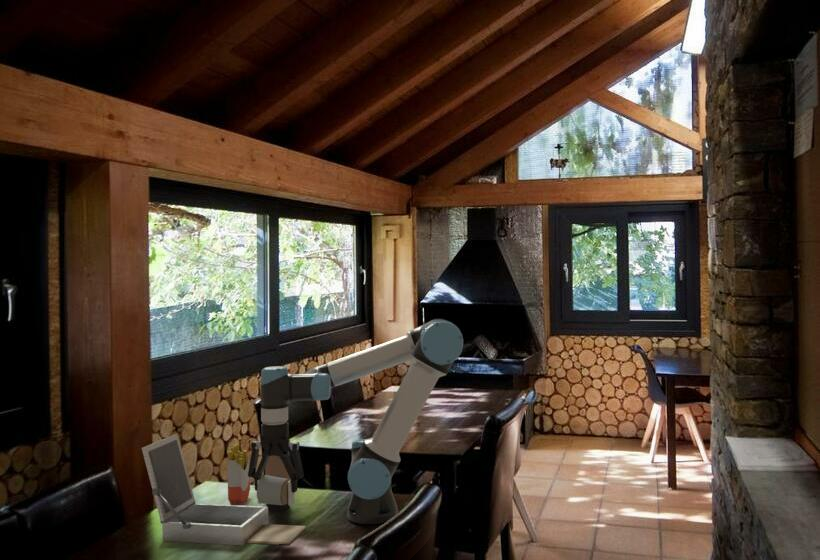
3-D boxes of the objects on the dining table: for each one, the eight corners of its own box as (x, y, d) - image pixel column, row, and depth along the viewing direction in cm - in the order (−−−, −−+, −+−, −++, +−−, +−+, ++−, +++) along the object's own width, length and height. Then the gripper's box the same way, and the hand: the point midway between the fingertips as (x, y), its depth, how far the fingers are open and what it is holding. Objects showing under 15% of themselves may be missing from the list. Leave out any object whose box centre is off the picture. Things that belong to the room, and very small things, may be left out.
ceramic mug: (282, 509, 189) (282, 480, 189) (256, 506, 192) (255, 478, 192) (299, 498, 199) (299, 471, 200) (274, 496, 202) (274, 469, 202)
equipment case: (268, 523, 204) (266, 435, 204) (240, 547, 186) (238, 450, 186) (176, 519, 210) (174, 433, 210) (140, 541, 192) (138, 448, 192)
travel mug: (295, 505, 220) (293, 442, 220) (278, 512, 213) (277, 448, 213) (277, 502, 224) (276, 440, 224) (260, 509, 217) (259, 445, 218)
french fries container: (251, 496, 231) (250, 442, 231) (242, 506, 220) (240, 450, 220) (237, 496, 231) (236, 442, 231) (228, 506, 220) (226, 450, 220)
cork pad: (306, 528, 199) (306, 526, 199) (289, 545, 187) (289, 542, 187) (267, 526, 202) (267, 524, 202) (247, 542, 189) (247, 540, 189)
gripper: (315, 420, 196) (316, 500, 196) (245, 418, 200) (247, 497, 200) (305, 425, 188) (307, 509, 188) (233, 423, 193) (235, 505, 193)
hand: (276, 502), depth 194 cm, fingers closed on ceramic mug, 8 cm apart
